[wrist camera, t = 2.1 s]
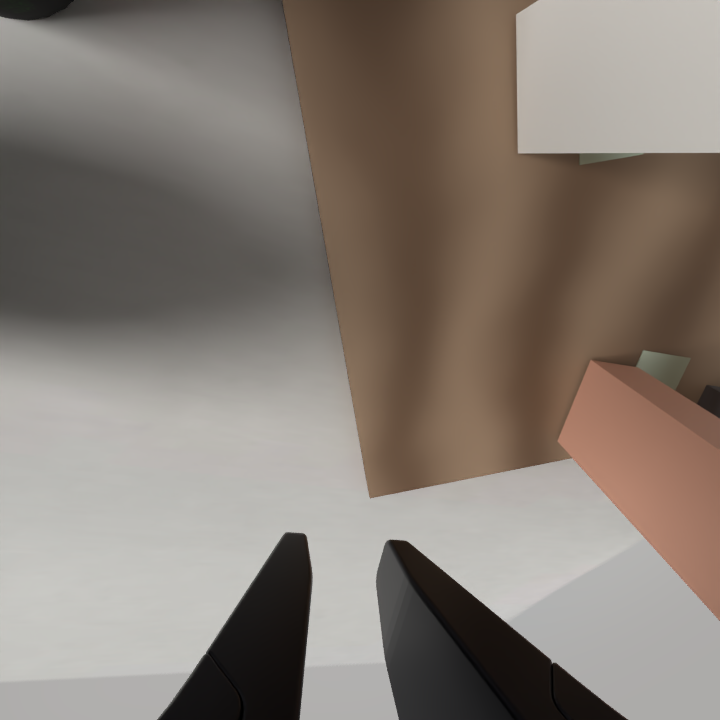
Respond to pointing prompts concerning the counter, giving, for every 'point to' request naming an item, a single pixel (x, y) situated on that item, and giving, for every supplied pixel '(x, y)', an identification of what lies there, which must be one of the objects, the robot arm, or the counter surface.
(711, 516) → the salmon pink rectangular block
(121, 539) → the counter surface
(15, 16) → the cup
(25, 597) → the counter surface
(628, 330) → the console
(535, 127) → the white rectangular block
